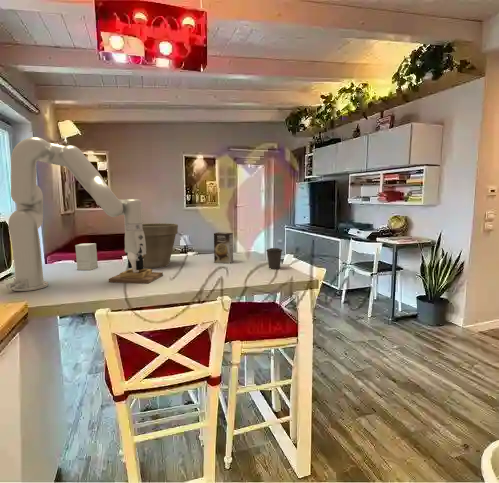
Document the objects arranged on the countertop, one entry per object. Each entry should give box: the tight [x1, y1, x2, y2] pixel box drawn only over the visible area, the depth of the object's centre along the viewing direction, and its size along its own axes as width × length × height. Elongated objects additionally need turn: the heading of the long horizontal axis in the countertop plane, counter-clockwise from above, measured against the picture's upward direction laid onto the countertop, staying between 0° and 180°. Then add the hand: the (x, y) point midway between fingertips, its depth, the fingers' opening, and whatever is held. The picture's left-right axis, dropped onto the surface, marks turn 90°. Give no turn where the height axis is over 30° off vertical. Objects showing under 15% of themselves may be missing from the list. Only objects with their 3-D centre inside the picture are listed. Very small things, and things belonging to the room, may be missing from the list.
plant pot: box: [143, 222, 179, 269], centre depth 188 cm, size 25×25×22 cm
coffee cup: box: [266, 247, 283, 270], centre depth 178 cm, size 8×8×10 cm
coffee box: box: [213, 232, 234, 264], centre depth 195 cm, size 9×6×16 cm
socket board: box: [108, 268, 164, 284], centre depth 159 cm, size 15×18×4 cm
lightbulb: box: [127, 252, 140, 273], centre depth 158 cm, size 6×6×11 cm
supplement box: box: [74, 242, 98, 271], centre depth 182 cm, size 7×7×13 cm
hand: (135, 268), depth 159 cm, fingers open, 5 cm apart
